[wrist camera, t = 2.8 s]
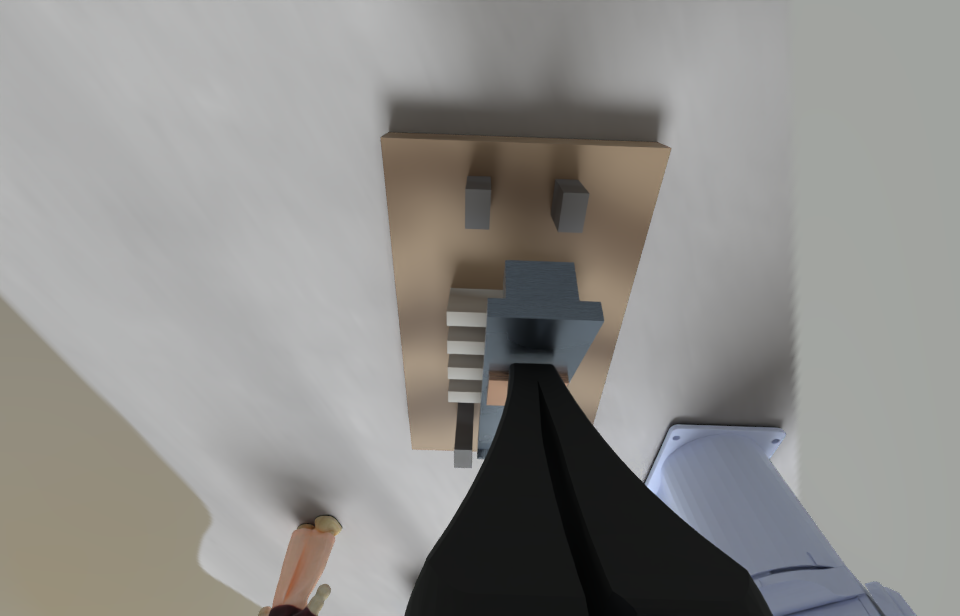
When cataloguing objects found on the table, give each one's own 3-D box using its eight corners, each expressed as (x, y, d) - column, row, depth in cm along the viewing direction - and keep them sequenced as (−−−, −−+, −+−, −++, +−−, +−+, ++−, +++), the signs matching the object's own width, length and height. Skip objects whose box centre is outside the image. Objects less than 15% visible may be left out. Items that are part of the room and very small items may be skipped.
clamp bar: (526, 420, 24) (528, 462, 22) (478, 418, 24) (477, 461, 22) (593, 258, 11) (606, 334, 9) (488, 254, 11) (486, 330, 9)
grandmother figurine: (320, 504, 33) (241, 714, 22) (357, 521, 34) (299, 726, 24) (277, 536, 36) (189, 735, 25) (313, 550, 37) (243, 744, 27)
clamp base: (579, 437, 28) (596, 503, 23) (415, 431, 28) (402, 497, 23) (657, 141, 17) (714, 167, 13) (388, 132, 17) (355, 154, 13)
